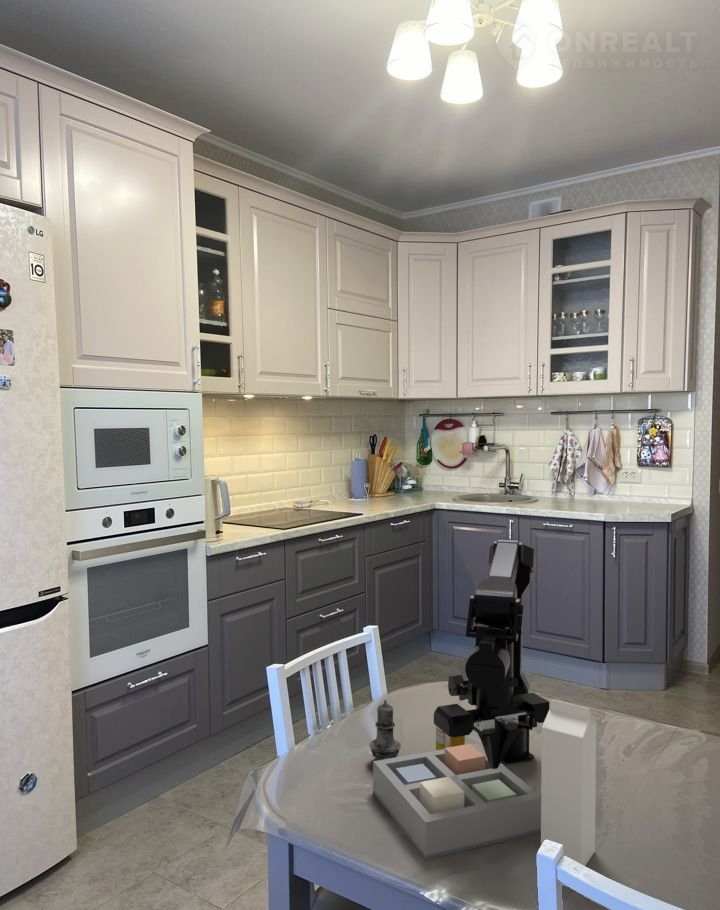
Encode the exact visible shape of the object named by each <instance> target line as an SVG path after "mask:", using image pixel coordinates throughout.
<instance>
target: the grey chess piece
mask: <svg viewBox="0 0 720 910" xmlns="http://www.w3.org/2000/svg"><path fill="white" fill-rule="evenodd" d="M375 726H376V738H374V739H373V740H371V741H370V742H369V748H370V751H371V753H372V757H374V758H373V759H372V760H371V762H370V767H372V768H373V761H378V760H384V759H389V758H395V757H398V756H399V752H400V749H401V746H402V744H401V743H400V741H398V740H397V739H395V738H394V727H395V726H396V723H394V708H393V706H392V705H390V704H389V703H388V701H387V700H386V699H384V701H383V703H382V704H380V705H379V706H378V707H377V721H376V723H375Z"/></svg>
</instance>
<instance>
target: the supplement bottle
mask: <svg viewBox="0 0 720 910" xmlns="http://www.w3.org/2000/svg"><path fill="white" fill-rule="evenodd" d="M465 740H466V737H465V736H459V737H450V736H448V735H447V734H446V733H444V732H443V731H442V730H441V729H440V728H438V727H437V726H436V725H435V751H436V750H441V749H445V748H449V747H454V746H460V745H466V743H465V742H466V741H465Z"/></svg>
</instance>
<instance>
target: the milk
mask: <svg viewBox="0 0 720 910" xmlns="http://www.w3.org/2000/svg"><path fill="white" fill-rule="evenodd" d="M549 702H550V704H549V712H548V714H547V716H546V719H545V721H544V723H542V725H541V770H540V771H541V781H540V782H541V785H540V788H541V790H540V791H541V792H540V795H541V833H540V844H541V843H542V842H543V841H544V840H546V839H548V840H551V841H554V842H557V843H561V844H563V845H564V854H565V855H566V856H568V857H570V858H572V859H574V860H576V861H578V862H579V863H581V864H583V865H585V866H587V864H588V863H589V861H590V860H591V858H592V857H593V855H594V854H595V852H596V798H597V797H596V793H597V792H596V791H597V790H596V782H597V779H596V777H597V773H596V772H597V771H596V770H597V723H595V722H594V721H593V720H592V719H591V710H590V708H589V707H587V706H581V705H577V704H574V703H573V704H572V703H569V702H565V701H561V700H555V699H550V700H549Z"/></svg>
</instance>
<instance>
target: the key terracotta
mask: <svg viewBox="0 0 720 910" xmlns="http://www.w3.org/2000/svg"><path fill="white" fill-rule="evenodd" d="M471 744H472V743H465V745H460V746H454V747H449V748H445V766H446V767H448V768H449V769H450V770H451V771H452V772H453V773H454V774H455V775H460V774H465V773H470V772H476V771H481V770H485V755H483V754H482V753H481V752H480V751H478V750H477V749H476V748H475V747H474V746H472V745H471Z"/></svg>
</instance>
